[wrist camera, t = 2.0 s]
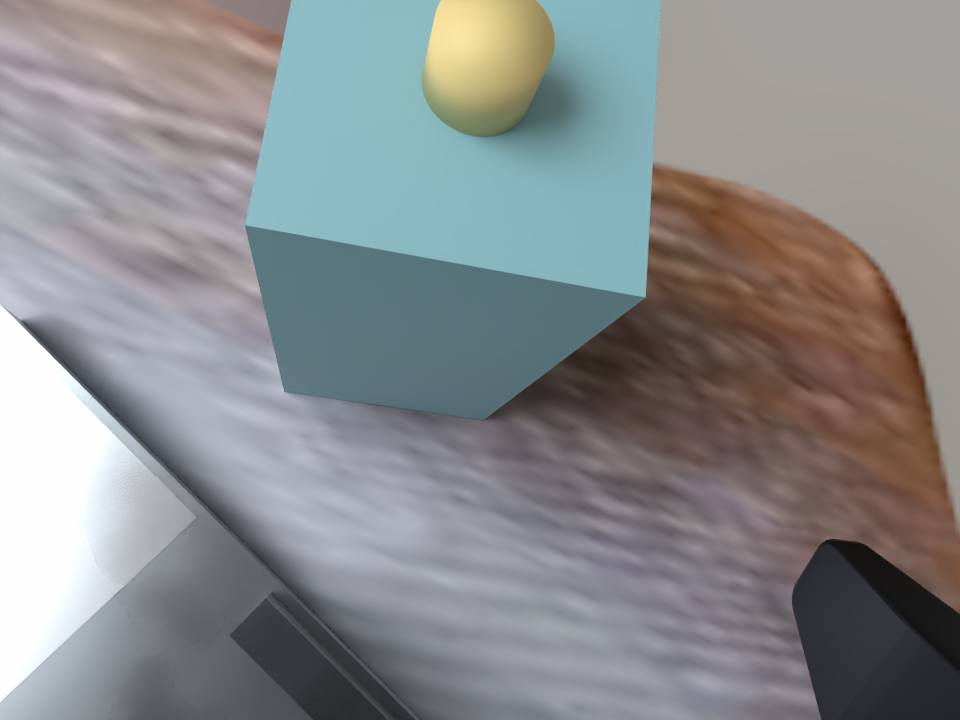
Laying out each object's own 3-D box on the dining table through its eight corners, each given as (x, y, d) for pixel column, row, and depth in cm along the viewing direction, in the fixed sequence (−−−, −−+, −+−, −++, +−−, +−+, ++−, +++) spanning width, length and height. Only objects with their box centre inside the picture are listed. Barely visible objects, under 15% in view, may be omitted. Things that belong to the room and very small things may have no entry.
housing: (483, 420, 21) (686, 267, 9) (284, 391, 20) (234, 182, 8) (502, 241, 22) (698, -85, 11) (317, 206, 21) (315, -192, 10)
